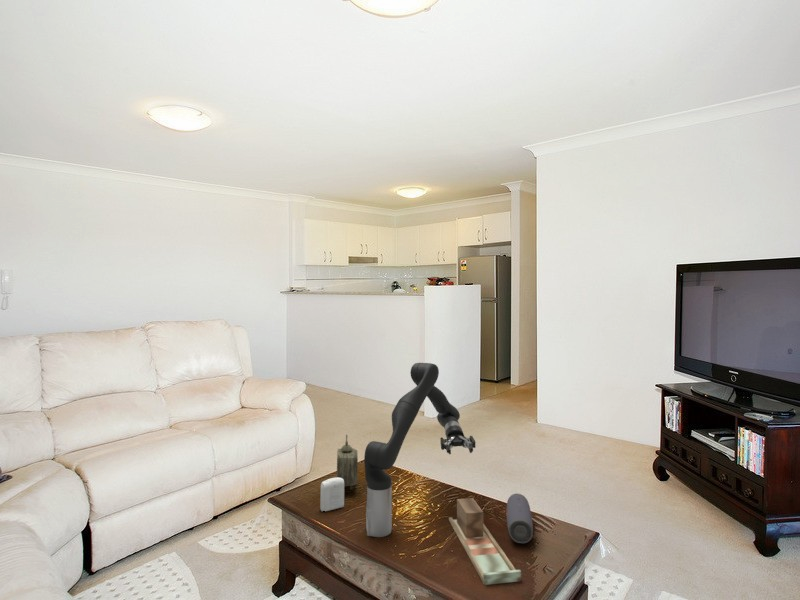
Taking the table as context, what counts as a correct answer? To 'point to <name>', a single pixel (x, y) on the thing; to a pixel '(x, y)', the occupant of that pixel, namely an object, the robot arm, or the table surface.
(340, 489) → the photo printer
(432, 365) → the robot arm
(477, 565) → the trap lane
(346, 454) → the grey-brown tall piece
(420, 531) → the table surface
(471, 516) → the walnut block
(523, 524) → the bluetooth speaker
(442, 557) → the table surface
